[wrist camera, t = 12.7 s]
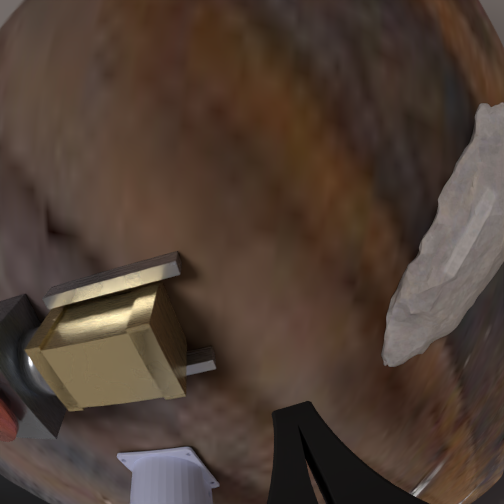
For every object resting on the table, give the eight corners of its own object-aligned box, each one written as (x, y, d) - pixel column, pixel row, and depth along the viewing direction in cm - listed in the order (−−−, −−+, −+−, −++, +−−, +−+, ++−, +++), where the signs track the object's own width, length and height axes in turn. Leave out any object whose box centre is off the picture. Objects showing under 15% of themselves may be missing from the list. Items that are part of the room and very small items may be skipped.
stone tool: (568, 156, 15) (433, 398, 20) (530, 147, 19) (404, 363, 24) (523, 51, 11) (345, 369, 16) (476, 55, 15) (316, 322, 21)
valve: (215, 355, 20) (224, 441, 14) (1, 387, 19) (-27, 443, 12) (177, 249, 17) (164, 321, 11) (-45, 316, 16) (-88, 365, 9)
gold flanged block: (187, 341, 20) (185, 396, 15) (87, 361, 19) (69, 411, 15) (160, 276, 18) (148, 323, 13) (54, 304, 17) (24, 349, 13)
